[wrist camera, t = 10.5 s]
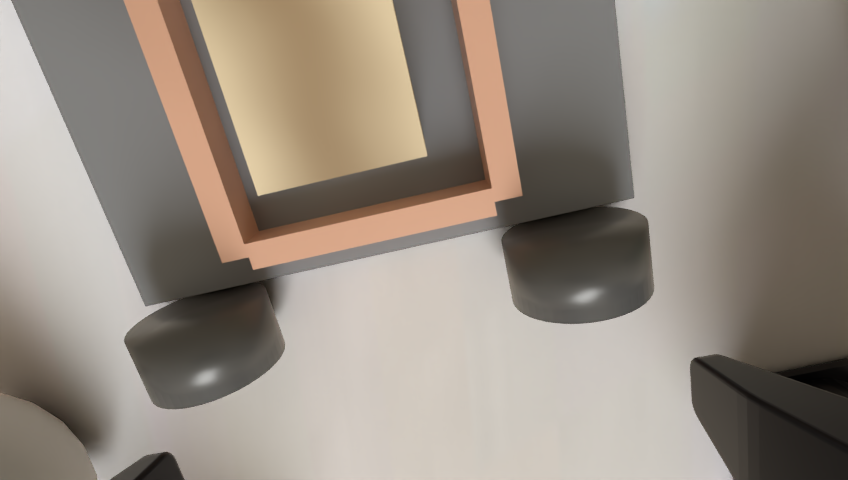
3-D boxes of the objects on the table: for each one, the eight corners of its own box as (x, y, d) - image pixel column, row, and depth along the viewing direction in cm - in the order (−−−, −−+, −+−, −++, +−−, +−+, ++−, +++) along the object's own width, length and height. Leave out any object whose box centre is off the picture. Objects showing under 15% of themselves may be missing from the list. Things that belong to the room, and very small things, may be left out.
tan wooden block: (384, -38, 16) (373, -84, 12) (424, 140, 18) (427, 156, 14) (241, -1, 16) (180, -33, 12) (295, 170, 18) (257, 195, 14)
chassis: (571, -329, 15) (646, -530, 10) (631, 251, 20) (698, 300, 15) (-40, -158, 16) (-241, -267, 11) (177, 349, 21) (108, 424, 16)
